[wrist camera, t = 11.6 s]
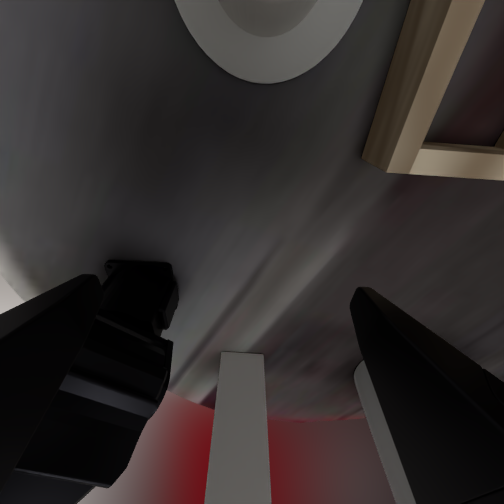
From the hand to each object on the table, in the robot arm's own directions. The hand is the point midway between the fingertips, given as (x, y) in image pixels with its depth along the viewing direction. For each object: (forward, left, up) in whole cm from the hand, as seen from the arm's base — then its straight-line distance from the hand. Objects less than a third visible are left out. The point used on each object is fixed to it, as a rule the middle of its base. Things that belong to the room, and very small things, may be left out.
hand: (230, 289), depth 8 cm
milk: (+1, -27, -13) cm, 30 cm away
